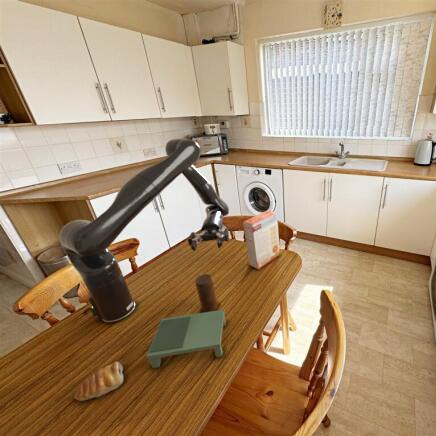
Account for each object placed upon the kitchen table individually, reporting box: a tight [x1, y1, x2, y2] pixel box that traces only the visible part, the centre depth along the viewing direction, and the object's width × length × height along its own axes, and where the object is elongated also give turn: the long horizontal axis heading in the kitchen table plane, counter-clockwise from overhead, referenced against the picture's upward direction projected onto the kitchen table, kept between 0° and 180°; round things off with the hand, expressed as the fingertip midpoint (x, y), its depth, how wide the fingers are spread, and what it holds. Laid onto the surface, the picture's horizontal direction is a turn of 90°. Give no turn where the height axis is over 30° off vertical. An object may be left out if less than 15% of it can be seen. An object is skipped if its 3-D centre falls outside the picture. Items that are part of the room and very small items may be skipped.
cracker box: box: [242, 209, 281, 270], centre depth 100 cm, size 14×6×21 cm, turn 141°
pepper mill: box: [194, 273, 219, 313], centre depth 78 cm, size 5×5×12 cm
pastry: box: [73, 361, 124, 402], centre depth 57 cm, size 9×7×4 cm
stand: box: [145, 309, 227, 369], centre depth 67 cm, size 18×12×5 cm, turn 99°
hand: (206, 247), depth 83 cm, fingers open, 8 cm apart
